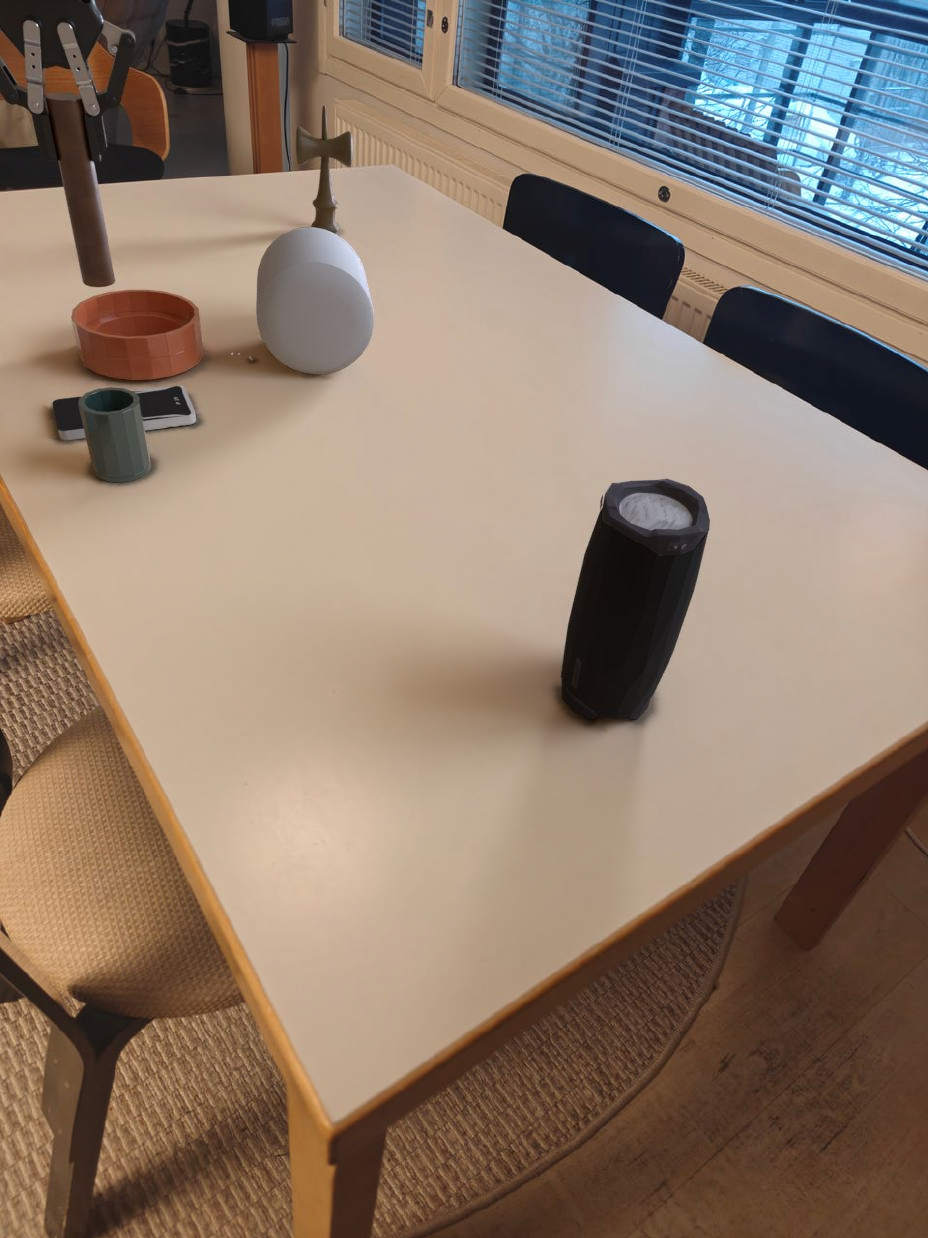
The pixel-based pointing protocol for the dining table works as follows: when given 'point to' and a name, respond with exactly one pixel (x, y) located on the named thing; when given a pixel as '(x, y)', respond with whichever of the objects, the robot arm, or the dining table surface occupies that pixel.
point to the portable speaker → (632, 596)
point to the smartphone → (156, 406)
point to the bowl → (138, 334)
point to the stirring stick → (81, 188)
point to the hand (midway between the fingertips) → (75, 157)
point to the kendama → (324, 168)
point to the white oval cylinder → (313, 301)
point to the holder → (115, 434)
